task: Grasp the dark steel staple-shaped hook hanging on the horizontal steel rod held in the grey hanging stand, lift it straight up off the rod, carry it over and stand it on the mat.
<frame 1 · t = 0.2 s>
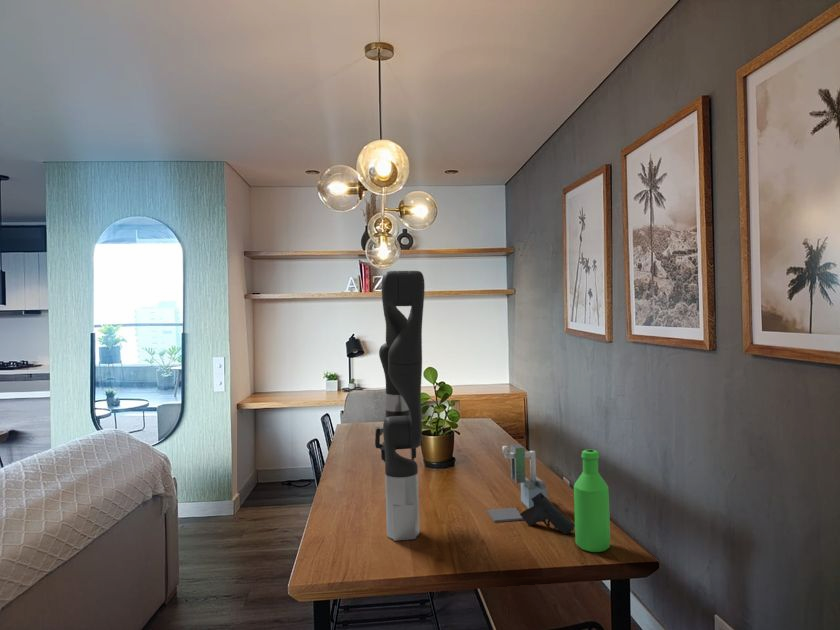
hand: (398, 460, 168), 17 cm above the table, tool pointing down, fingers open, 8 cm apart
bottle: (592, 547, 143), on the table
grey hanging stand: (533, 504, 176), on the table
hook: (518, 480, 175), point 8 cm above the table, touching grey hanging stand
mat: (504, 515, 166), on the table
handgun: (547, 529, 156), on the table
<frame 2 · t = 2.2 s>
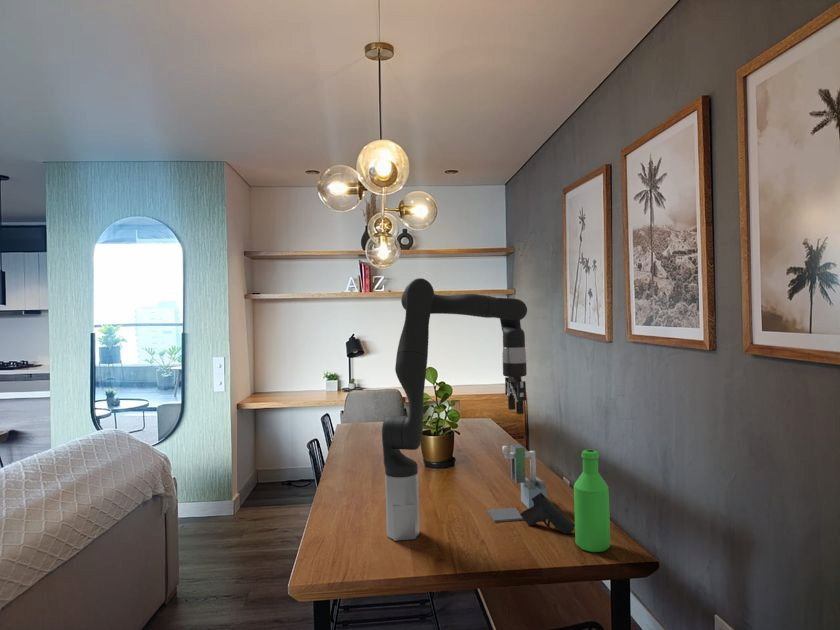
hand: (515, 411, 176), 30 cm above the table, tool pointing down, fingers open, 8 cm apart
nothing on the table moved.
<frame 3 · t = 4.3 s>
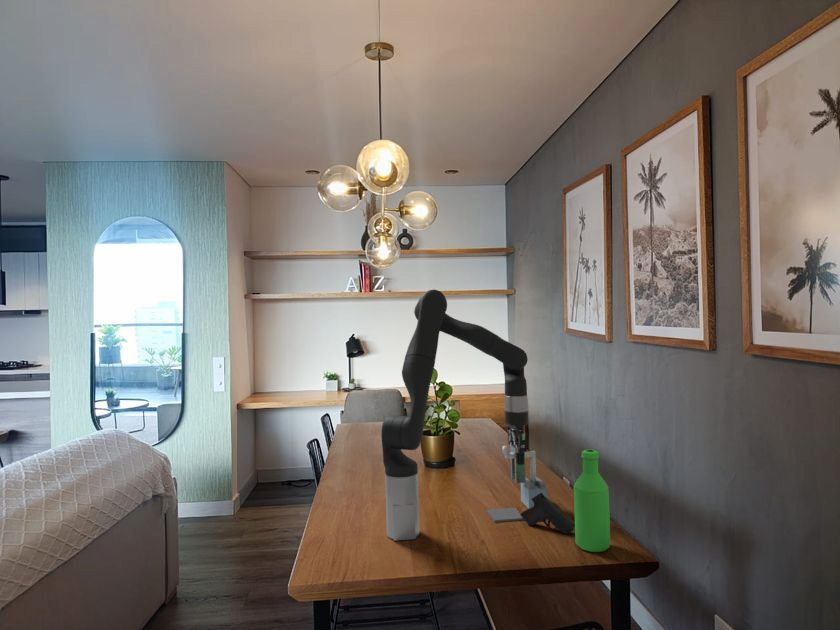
hand: (517, 461, 175), 14 cm above the table, tool pointing down, fingers closed on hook, 5 cm apart
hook: (518, 480, 175), point 8 cm above the table, touching gripper, grey hanging stand
everything else where it was.
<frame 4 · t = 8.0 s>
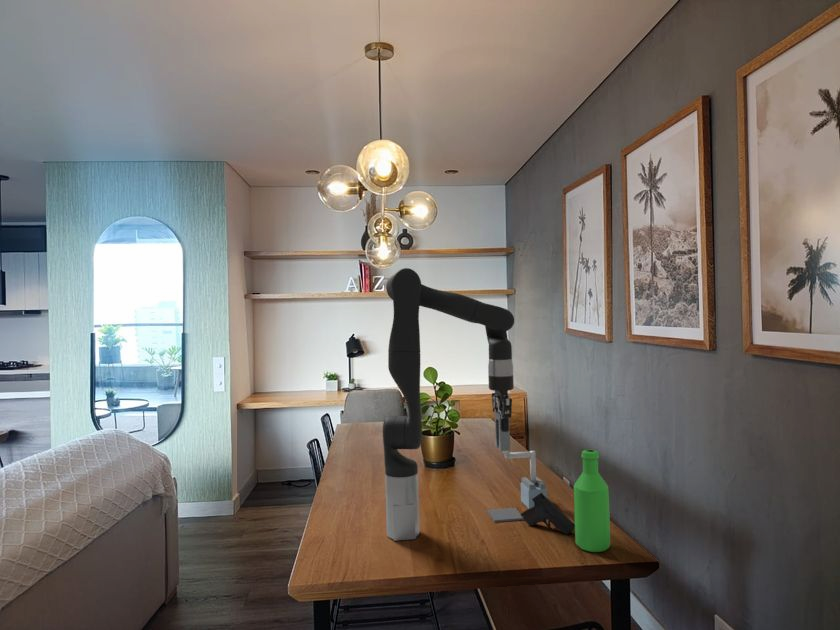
hand: (502, 429, 167), 26 cm above the table, tool pointing down, fingers closed on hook, 5 cm apart
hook: (502, 448, 167), point 20 cm above the table, touching gripper
everything else where it was.
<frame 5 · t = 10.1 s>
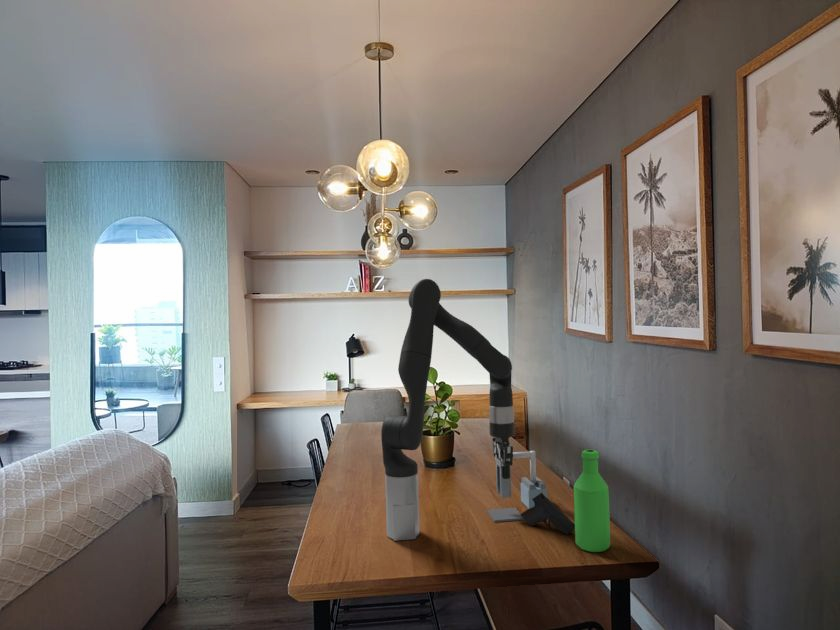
hand: (503, 475, 167), 12 cm above the table, tool pointing down, fingers closed on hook, 5 cm apart
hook: (503, 494, 167), point 6 cm above the table, touching gripper
everything else where it was.
when the fingers open (8 cm above the table, at t = 11.7 s): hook drops 1 cm, resting on mat.
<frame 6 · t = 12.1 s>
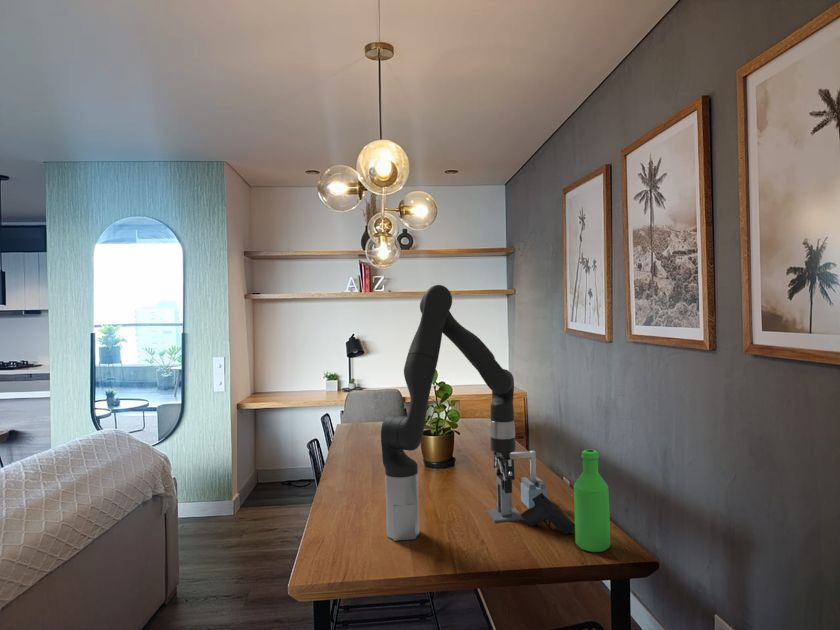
hand: (504, 488, 167), 8 cm above the table, tool pointing down, fingers open, 8 cm apart
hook: (504, 513, 167), point 1 cm above the table, touching mat
everything else where it was.
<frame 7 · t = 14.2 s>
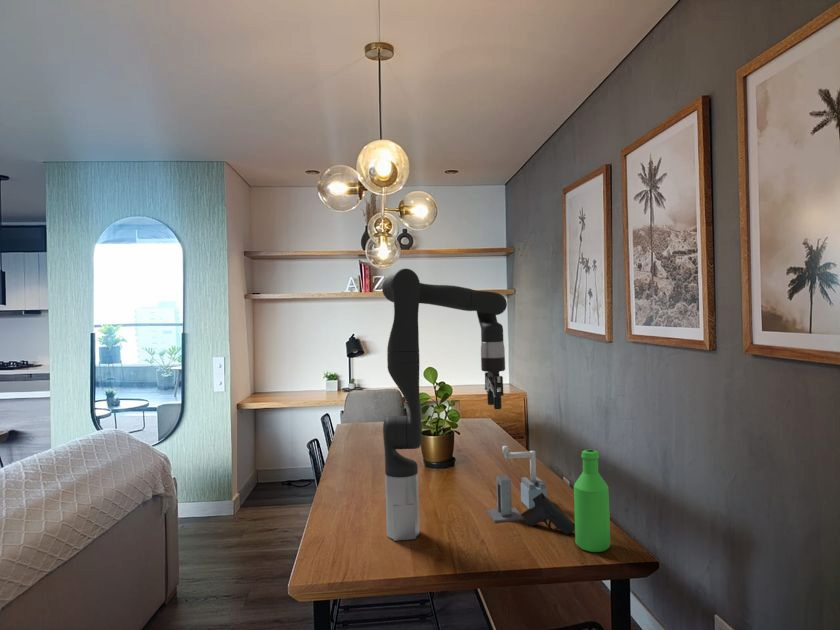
hand: (494, 406, 174), 32 cm above the table, tool pointing down, fingers open, 8 cm apart
nothing on the table moved.
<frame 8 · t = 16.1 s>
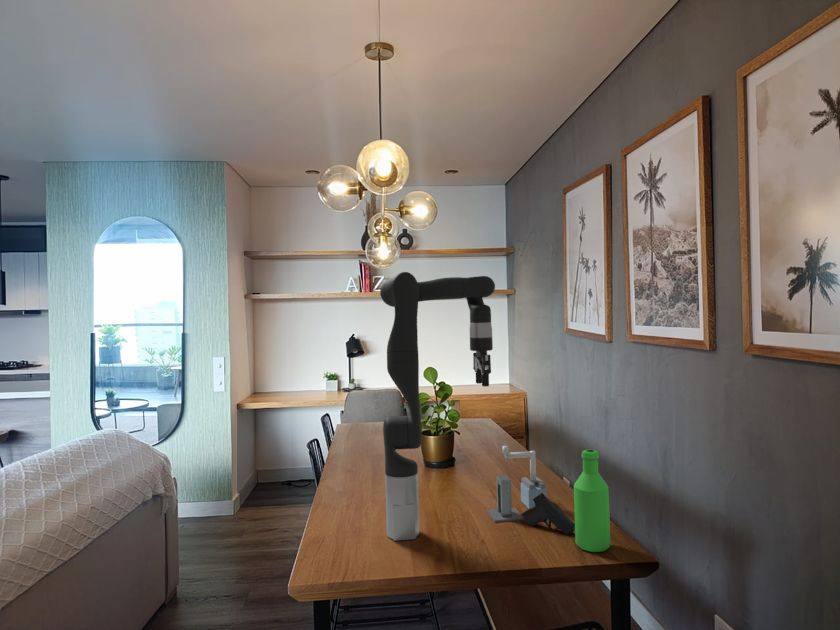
hand: (482, 384, 182), 38 cm above the table, tool pointing down, fingers open, 8 cm apart
nothing on the table moved.
at the end: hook inside the target area on the mat (0.2 cm from its centre), point 0.6 cm above the mat's base; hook touching mat; the gripper is holding nothing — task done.
